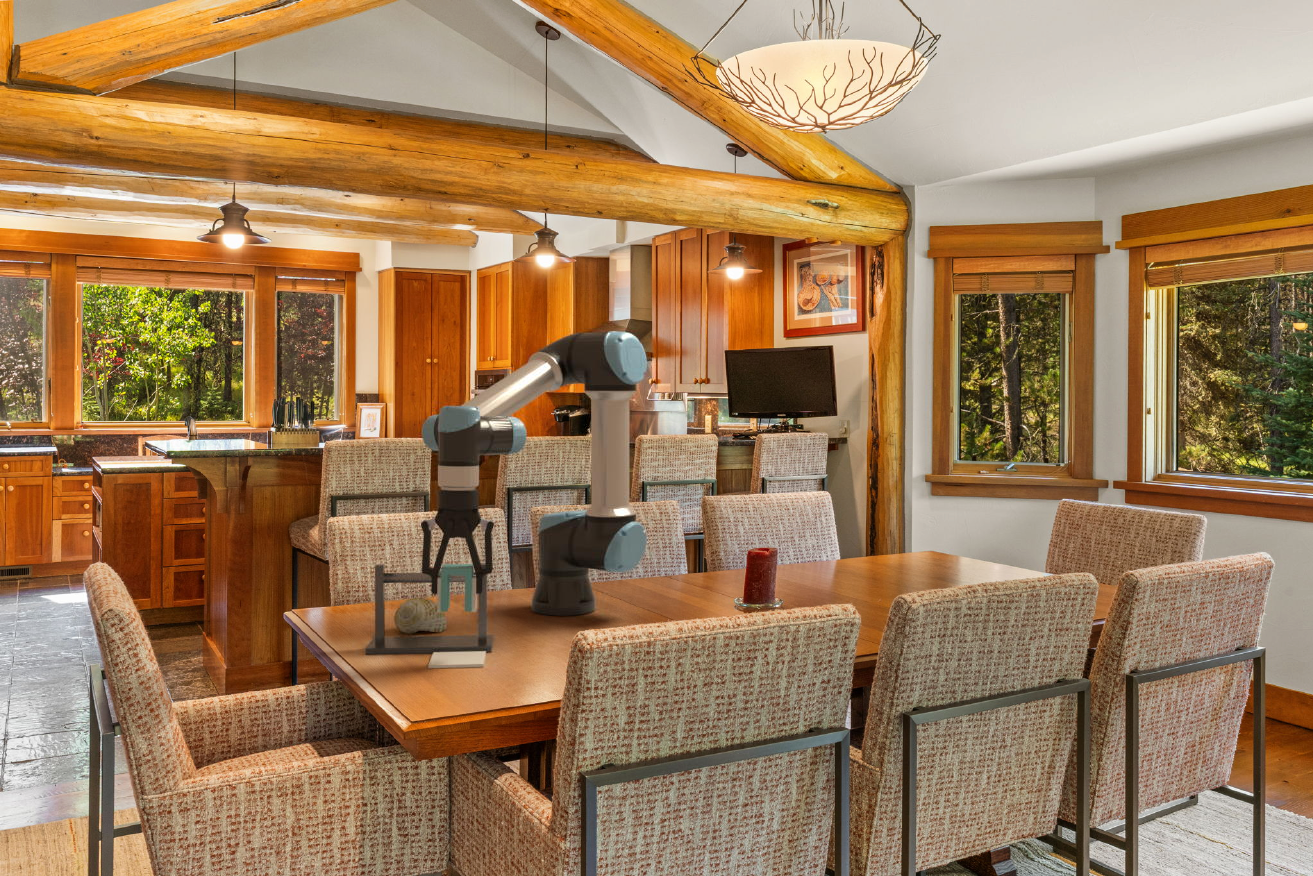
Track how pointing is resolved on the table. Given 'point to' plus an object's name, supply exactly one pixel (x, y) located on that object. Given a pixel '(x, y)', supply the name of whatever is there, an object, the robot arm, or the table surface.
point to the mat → (457, 659)
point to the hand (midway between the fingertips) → (457, 610)
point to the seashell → (419, 616)
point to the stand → (425, 643)
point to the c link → (445, 584)
